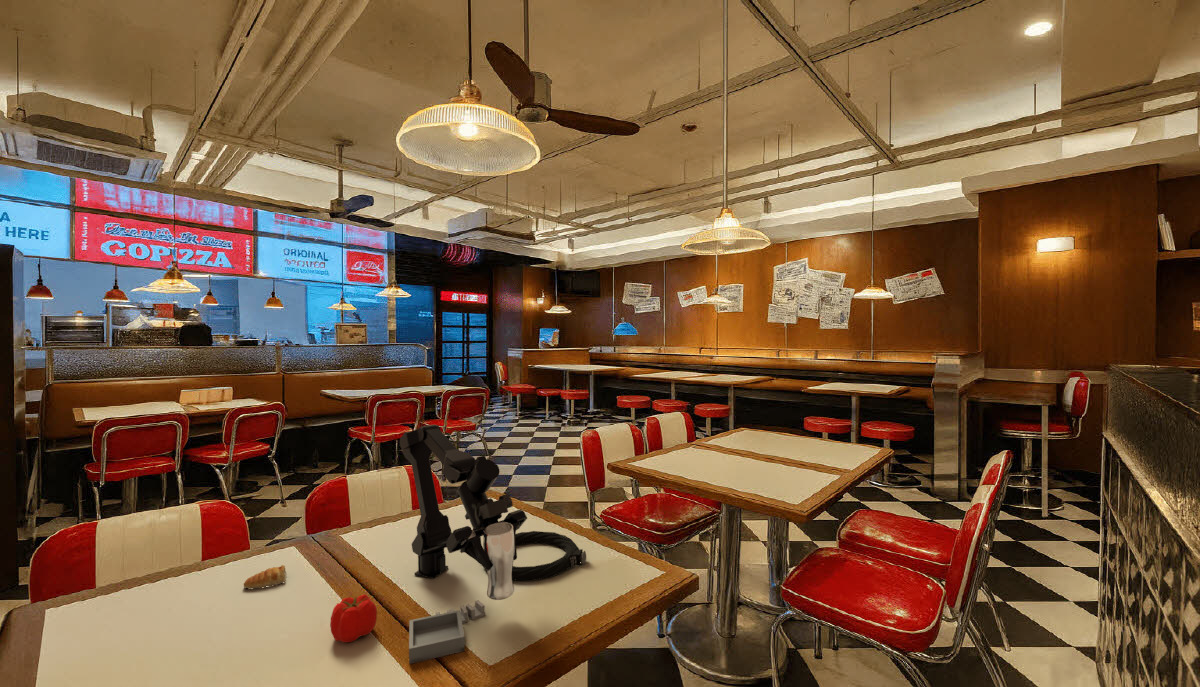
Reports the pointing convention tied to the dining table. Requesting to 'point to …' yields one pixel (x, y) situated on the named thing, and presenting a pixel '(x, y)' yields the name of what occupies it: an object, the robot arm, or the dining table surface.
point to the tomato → (353, 618)
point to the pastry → (267, 578)
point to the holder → (435, 636)
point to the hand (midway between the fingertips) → (502, 564)
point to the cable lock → (553, 568)
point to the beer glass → (499, 559)
